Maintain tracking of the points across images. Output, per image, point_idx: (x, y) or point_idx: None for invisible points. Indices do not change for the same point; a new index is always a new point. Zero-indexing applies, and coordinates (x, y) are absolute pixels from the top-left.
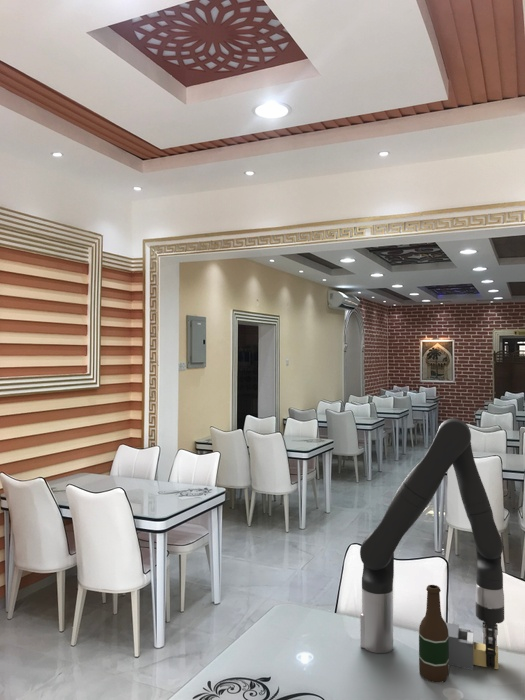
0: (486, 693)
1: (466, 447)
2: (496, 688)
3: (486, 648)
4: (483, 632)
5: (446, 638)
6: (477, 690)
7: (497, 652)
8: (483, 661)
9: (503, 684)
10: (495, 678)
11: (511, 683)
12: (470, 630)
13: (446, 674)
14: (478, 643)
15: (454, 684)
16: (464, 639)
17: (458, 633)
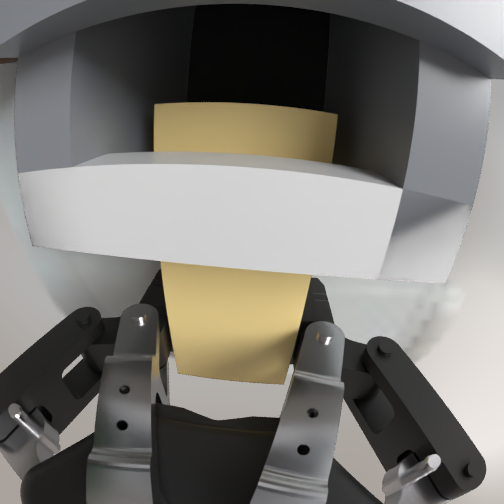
0: (15, 227)
1: None
2: (56, 267)
3: (35, 347)
4: (92, 456)
5: None
6: (13, 194)
7: (186, 372)
8: None
9: (95, 297)
10: (120, 275)
11: None
12: (448, 244)
13: (3, 62)
14: None
15: (12, 100)
16: (364, 125)
17: (272, 1)
